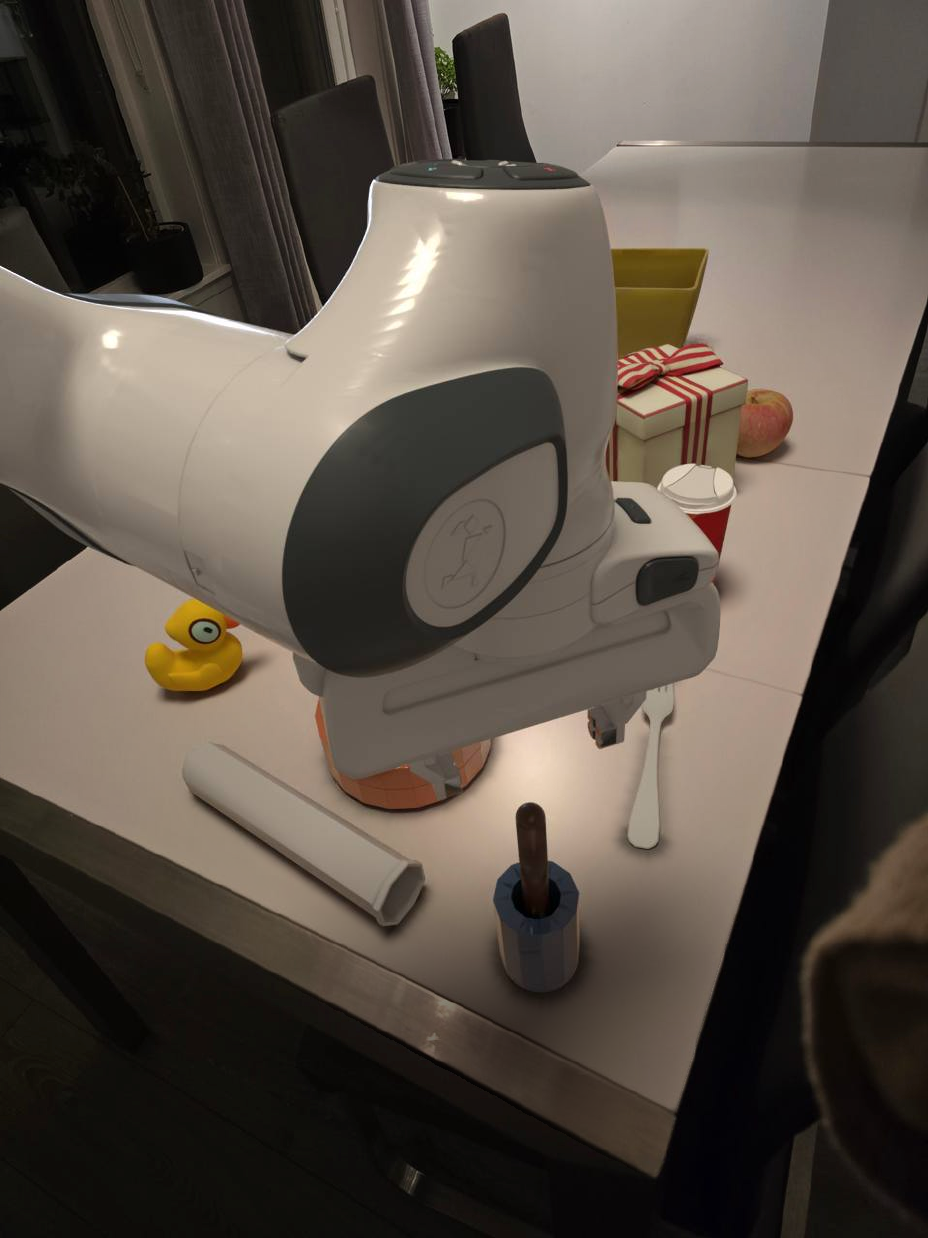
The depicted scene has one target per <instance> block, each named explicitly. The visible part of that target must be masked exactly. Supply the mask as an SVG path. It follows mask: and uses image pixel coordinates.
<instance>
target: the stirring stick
mask: <svg viewBox="0 0 928 1238" xmlns="http://www.w3.org/2000/svg"><path fill="white" fill-rule="evenodd" d="M515 830H516V841H517V851H518V863H520V875H521V886H522V897H523V908H524V916H525V917H526V918H533V919H542V918H545V917H547V916H550V896H549V875H548V861H549V859H548V857H549V856H548V837H547V817H546V812H545V810H544V808H543V807H542V806H541V805H539V804H538V803H536V802H534V801H528V802H524V803H522V804H520V806H519V807H518V808H517V809H516V812H515Z"/></svg>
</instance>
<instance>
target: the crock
mask: <svg viewBox="0 0 928 1238" xmlns="http://www.w3.org/2000/svg"><path fill="white" fill-rule="evenodd" d="M548 875H549V896H550V916H547V917H545V918H542V919H533V918H526V917H525V916H524V908H523V897H522V886H521V875H520V863H519V862H515V863H513V864H511V865H509V867H507V868H506V870H505V871H504V872H503V873H502V874H501V875H500V876H499V877H498V878H497V879H496V880H497V881H496V883H495V887H494V892H493V897H492V904H493V911H494V920H495V925H496V933H497V942H498V949H499V955H500V957H501V960H502V961H501V962H502V965H503V968H504V970H505V973H506V974H507V976H508V977H509V978H510V979H511V981H513V982H514V984H516V985H517V986H518V987H520V988H522V989H524V990H526V991H529V992H533V993H539V994H540V993H550V992H553V991H556V990H558V989H560V988H562V987H563V986H565V985H566V984H568V982H569V981H570V980H571V979H572V978H573V976H574V975H575V973H576V971H577V969H578V966H579V965H578V964H579V958H580V957H579V956H580V947H581V946H580V941H581V940H580V891H579V888H578V887H577V884H576V882H575V880H574V878H573V875H572V874H571V873H570V872H569V871H568V870H566V869H565V868H564V867H562V866H560V865H559V864H558V863H556V862H555V861H552V860H548Z"/></svg>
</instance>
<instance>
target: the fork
mask: <svg viewBox="0 0 928 1238" xmlns="http://www.w3.org/2000/svg"><path fill="white" fill-rule="evenodd" d="M674 702H675V692H674V683H672V684H669V685H666V686H662V687H659V688H656V689H652V690H649V691H647V694H646V700H645V701H644V702H643V704H642V705H641V707H642V710H643V712H644V713H645V714H646V715H647V717H648V719H649V732H648V733H649V734H648V741H647V748H646V753H645V759H644V764H643V769H642V773H641V778H640V781H639V785H638V788H637V791H636V795H635V798H634V800H633V801H634V802H633V805H632V808H631V811H630V816H629V820H628V828H627V836H626V837H627V839H628V841H629V843H630V844H631V845H633V847H635V848H641V849H645V850H649V849H652V848H654V847H655V846H657V844H658V843H659V835H660V826H661V823H660V820H661V819H660V799H659V786H658V785H659V783H658V778H659V777H658V774H659V773H658V762H659V761H658V760H659V745H660V732H661V726H662V722H664V719H665V718H666V717H668V716H670V714H671V713H672V711H673V709H674V704H675V703H674Z"/></svg>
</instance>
